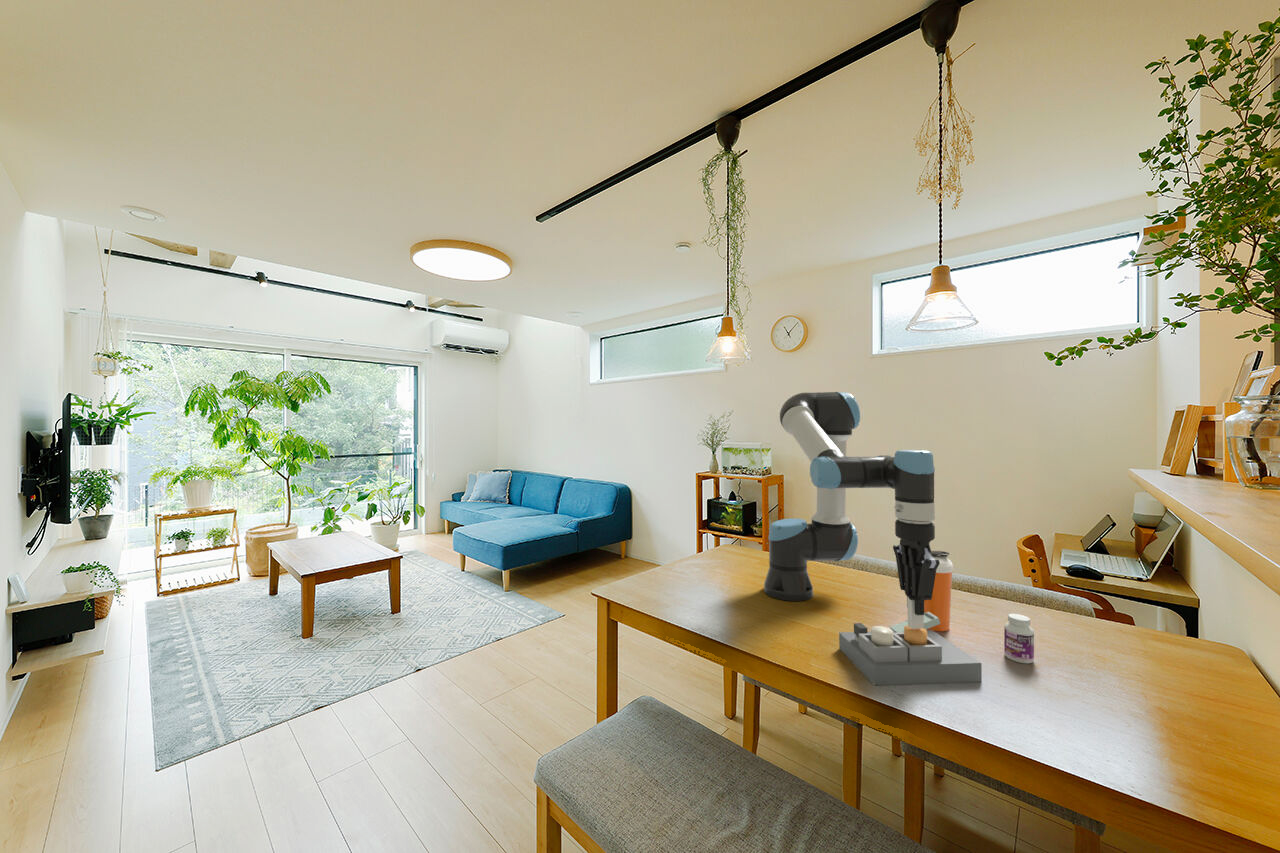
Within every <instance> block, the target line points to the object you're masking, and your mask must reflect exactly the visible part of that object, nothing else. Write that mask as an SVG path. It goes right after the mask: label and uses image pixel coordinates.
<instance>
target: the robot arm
mask: <svg viewBox="0 0 1280 853" xmlns="http://www.w3.org/2000/svg"><path fill="white" fill-rule="evenodd" d="M779 421H780V424H781V426H782V428H783V429H784V431H785V432H786V433H788V434H789V435H792V436H793V438H794V440H795V441H796V442H797V444H798V445H799V446H800V448H801V450H802V451H803V452H804V454H805V455H806V456H807V458H808V460H809V461H810V466H809V476H810V478H811V482H812V485H813V486H814V487H816V512H815V513H814V514H813V515H812V516H811V523H807V521H806V520H805V519H802V518H783V519H779V520H778V519H777V520H776V521H774V522H772V523H771V524H770V525H769V529H768V530H769V531H768V547H769V548H768V549H769V552H768V556H769V559H768V560H769V561H768V563H769V568H768V570H767V574H766V576H765V580H764V583H763V591H764V593H765V594H766V595H767V596H769V597H771V598H773V599H778V600H781V601H789V602H790V601H791V602H802V601H806V600H807V601H808V600H810V599H812V597H813V596H814V587H813V584H812V581H811V578H810V575H809V572H808V561H809V562H810V561H811V562H812V561H815V562H817V561H821V562H823V561H831V562H833V561H834V562H840V561H847V560H851V559H852V558H853V557H854V555H855V554H856V553H857V548H858V544H859V537H858V531H857V528H856V527H855V525H854V524H853V523H851V518H849V517H848V516H847V515H846V502H847V501H846V493H847V492H846V490H847V489H873V488H874V489H879V488H880V489H893V490H894V504H895V505H894V509H895V512H894V513H895V514H894V515H895V518H896V520H895V521H894V534H895V536H896V537H897V538H899V539H900V540H899V544H898V545H897V544H896V545H895V544H894V545H893V546H892V549H893V552H894V555H895V561H896V567H897V575H898V582H899V588H900V590H901V591H904V594H905V596H906V607H907V620H908V627H910V628H911V629H924V601H925V600H931V599H932V594H933V588H934V582H935V575H936V569H937V568H938V566H939V564H940V562H939V560H938V559H934V558H933V557H932V556H931V551H932V549H931V546H930V543H931V541H934V540H935V538H936V532H935V530H936V525H935V523H934V522H933V521H934V520H935V519H936V515H935V513H936V512H935V511H936V510H935V469H936V468H935V465H934V463H935V462H934V454H933V453H932V452H931V451H929V450H921V449H920V450H919V449H901V450H900V449H899V450H896V451H895V453H894V456H891V455H877V456H847V440H848V439H849V438H850V437H852V435H853V430H854V429H857V428H858V426H859V425H860V421H861V411H860V406H859V403H858V401H857V400H856V398H855V396H854V395H852V394H851V393H850V392H843V391H831V392H830V391H828V392H827V391H826V392H825V391H823V392H821V391H820V392H799V393H796V394H794V395H792V396H790V397H789V398H788V399H787V400H786V401H785V402H784V403H783V405H782V406H781V409H780V412H779Z"/></svg>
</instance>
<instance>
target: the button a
mask: <svg viewBox="0 0 1280 853" xmlns="http://www.w3.org/2000/svg"><path fill="white" fill-rule="evenodd" d="M870 632H871V642H872V643H873V644H875V645H876V646H894V632H893V631H892V630H891V628H890V627H886V626H882V625H881V626H879V625H874V626H872V627H870Z"/></svg>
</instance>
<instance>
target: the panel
mask: <svg viewBox="0 0 1280 853" xmlns="http://www.w3.org/2000/svg"><path fill="white" fill-rule="evenodd" d="M926 630H927V645H910V644H909V643H907V642H906V641H905V640H904V632H901V633H894V646H876V645H875V644H873V643H872V642H871V631H867V632H868V633H866V634H859V637H857V636H856V635H855V634H854V631H848V632H847V631H845V632H844V631H843V632H842V631H841V632H840V631H839V632H838V640H839V642H838V644H839V646H838V647H839V648H838V649H839V650H840V651H841V652H842V653H843V654H844V655H845V656H846V657H847V658H848V659H849V661H850V662H852V664H853V665H854V666H855V667H856V668H857V669H858V670H859V671H860V672H861V673H862V674H863V675H864V676H865V677H866V678H867V679H868V680H869V681H870V682H871V683H872V684H873V685H874V686H892V685H893V686H895V685H898V686H899V685H926V684H930V685H931V684H954V683H955V684H957V683H958V684H959V683H960V684H961V683H982V678H983V677H982V676H983V674H982V670H983V669H982V668H983V667H982V662H981V661H979V660H978V659H977V658H976V657H974V656H971V655H970V654H969V653H967V652H966V651H964V650H963V649H961V648H960V647H959V646H957V645H955V644H953V642H951V641H949V640H947V639H946V638H945V637H943V636H942V635H940V634H939V633H937V631H933V630H929V629H926Z"/></svg>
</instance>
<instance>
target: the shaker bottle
mask: <svg viewBox="0 0 1280 853" xmlns="http://www.w3.org/2000/svg"><path fill="white" fill-rule="evenodd" d="M949 555H950V553H949V552H948V551H943V550H931V556H932V557H933V558H934V559H938V560H939V562H940V564H939V566H938V568H937V569H936V575H935V582H934V588H933V594H932V599H931V600H925V601H924V613H926V612H930V613H931V614H933V615H935V616H936V617H938V618H939V621H940V624H939V625H936V626H934V627H931V628H929V629H928V630H933V631H934V632H947V631H949V630H950V628H951V627H950V624H951V621H950V619H951V606H952V605H951V603H952V581H953V580H952V579H953V578H952V577H953V572H954V564H953V563H952V561H951V560H950V559H948V557H949Z"/></svg>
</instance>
